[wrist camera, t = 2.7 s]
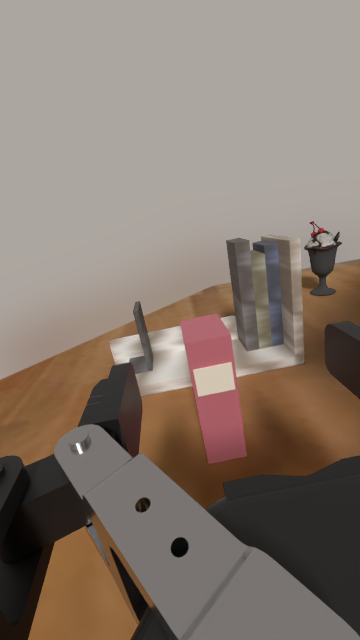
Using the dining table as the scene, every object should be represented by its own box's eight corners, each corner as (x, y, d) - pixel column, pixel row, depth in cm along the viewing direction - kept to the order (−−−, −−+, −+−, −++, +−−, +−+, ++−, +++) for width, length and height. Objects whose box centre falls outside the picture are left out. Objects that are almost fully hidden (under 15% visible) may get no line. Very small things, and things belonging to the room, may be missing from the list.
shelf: (276, 336, 45) (269, 231, 40) (304, 363, 37) (299, 233, 31) (118, 367, 45) (88, 266, 39) (109, 402, 36) (69, 279, 31)
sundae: (299, 294, 62) (296, 223, 57) (318, 286, 65) (317, 218, 59) (327, 299, 56) (326, 221, 51) (347, 289, 59) (348, 215, 54)
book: (233, 419, 30) (217, 313, 25) (247, 457, 25) (231, 335, 21) (200, 425, 30) (179, 320, 25) (208, 465, 25) (184, 344, 21)
